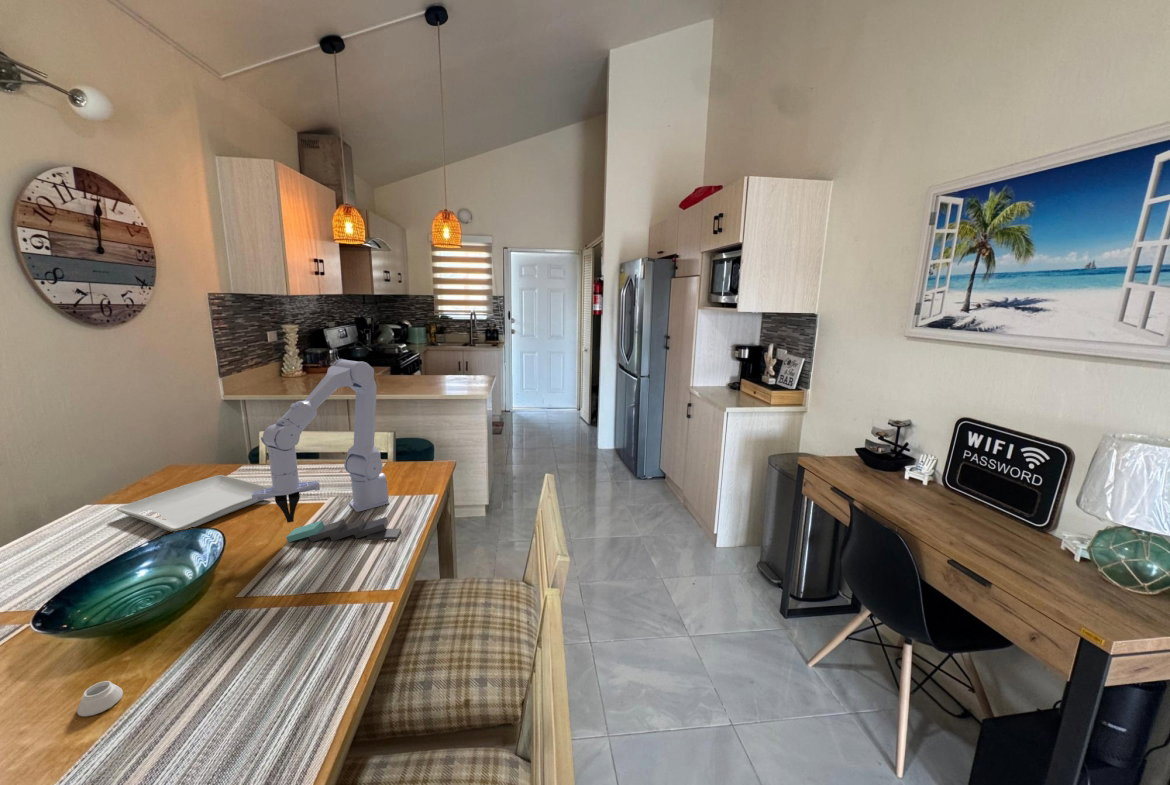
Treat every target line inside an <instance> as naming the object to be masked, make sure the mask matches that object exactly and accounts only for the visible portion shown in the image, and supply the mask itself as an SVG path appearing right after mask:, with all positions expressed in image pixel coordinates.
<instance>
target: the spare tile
mask: <svg viewBox="0 0 1170 785" xmlns="http://www.w3.org/2000/svg"><path fill="white" fill-rule="evenodd" d="M324 526H325V524H324V521H323V520H319V521H316V522H312V523H310V524H305V525H301V526H300V527H296V528H294V529H292V530H291V532H290V533H288V534H287V535H286V536H285V539H286V541H287V542H288V543H292V542H294V541H298V540H301V539H305V538H309V536H312V535H315V534H317V533H318V532H319V531H320V530H321V529H322V528H323V527H324Z"/></svg>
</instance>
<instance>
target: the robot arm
mask: <svg viewBox="0 0 1170 785" xmlns="http://www.w3.org/2000/svg"><path fill="white" fill-rule="evenodd" d="M343 387H349V388H351V389H352V391H354V393H355V405H354V407H355V408H354V424H353V425H354V428H353V445H352V446H351V447H350V448H348V449H347V455H346V458H345V460H344V469H345V472H347V473H349V477H350V479H351V492H352V500H350V501H349V502H348V503H349V505H350V506H351V508H352V509H353V510H354V511H355V513H359V512H362V511H363V512H364V511H367V510H371V509H375V508H377V507H382V506H386V505H388V503H389V504H390V500H389V488H388V480H387V476H386V474H385V473H384V472H383V468H384V467H383V461H382V459H381V454H382V453H381V452H380V451H379V450H378V448H377V447H376V445H375V432H376V413H377V410H376V409H377V389H378V386H377V382H376V381H375V368H373V367H372V366H371V365H370V364H369V363H368V362H365V361H356V360H348V359H344V358H339V359H336V360H335V361H334V362H333V364H332V365H331V366H329V367H328V368H327V372H326V374H325V376H324V377H322V378H321V380H320V382H319V383H318V384H317V385H316V386H315V387H314V389H313V390H312V391H311V392H310V394H309V395H308V396H306V399H304V400H298V401H296V402H292V404H290V405H289V409H288V410H287V411H286V412H285V413H284V415H282V417H280V418H278V419H277V420H276V423H273V424H271V425H269V426H268V427H266V428H265V430H264V431H263V434H262V437H261V436H260V441H261V442H262V443H263V445H264V446H265V447H266V450H267V452H268V453H267V454H268V460H269V461H268V462H269V470H270V476H271V477H270V478H271V485H272V486H271V487H269V488H267V489H263V490H260V491H255V492H252V501H253V502H256V501H258V500H261V501H263V500H266V499H271V498H272V499H273V498H274V502H275V504H276V505H277V507H279V509H280V510H281V511H282V513H283V514H284V517H285V519H286V522H287V524H289V523H294V518H295V512H296V509H297V505H298V503H299V501H300V500H301V499H300V498H301V496H300V494H301V493H305V492H309V491H316V492H317V491H321V489H320V488H321V486H320V481H319V480H313V481H302V482H301V481H300V478H299V470H298V462H297V452H296V446H297V445H298V444H299V442H300V438H301V434H302V432H303V431H304V430H305V428H306V427H308V426H309V424H310V423H311V422H312V421H313V420H314V418H316V417H317V415H318V413H317V412H318V411H317V409H318V408H319V407H320V406H321V405H322V403H324V402H325V401H327V399H328V398H329V397H330V396H332V395H333V394H334V393H335V392H336V391H337V390H338V389H339V388H343ZM287 496H288V497H287ZM262 499H263V500H262ZM256 503H257V502H256ZM288 504H289V505H288ZM385 504H386V505H385Z"/></svg>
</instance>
